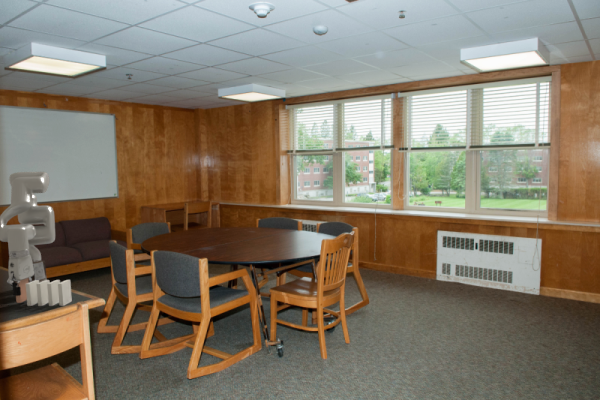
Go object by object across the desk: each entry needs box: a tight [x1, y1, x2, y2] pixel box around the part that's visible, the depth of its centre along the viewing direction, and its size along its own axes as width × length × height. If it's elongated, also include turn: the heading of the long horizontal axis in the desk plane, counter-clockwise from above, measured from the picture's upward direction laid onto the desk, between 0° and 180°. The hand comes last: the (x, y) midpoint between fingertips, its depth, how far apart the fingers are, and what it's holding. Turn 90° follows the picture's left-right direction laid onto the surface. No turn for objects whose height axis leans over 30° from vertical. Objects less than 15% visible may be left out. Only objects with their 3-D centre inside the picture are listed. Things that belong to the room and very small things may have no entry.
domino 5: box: [58, 279, 73, 307], centre depth 185 cm, size 2×6×10 cm, turn 176°
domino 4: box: [47, 279, 61, 307], centre depth 186 cm, size 2×6×10 cm, turn 176°
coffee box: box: [32, 259, 48, 283], centre depth 201 cm, size 9×6×16 cm
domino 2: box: [26, 280, 39, 307], centre depth 186 cm, size 2×6×10 cm, turn 176°
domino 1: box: [15, 278, 29, 304], centre depth 186 cm, size 2×6×10 cm, turn 176°
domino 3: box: [36, 279, 50, 307], centre depth 186 cm, size 2×6×10 cm, turn 176°
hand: (22, 292), depth 187 cm, fingers closed on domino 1, 5 cm apart
